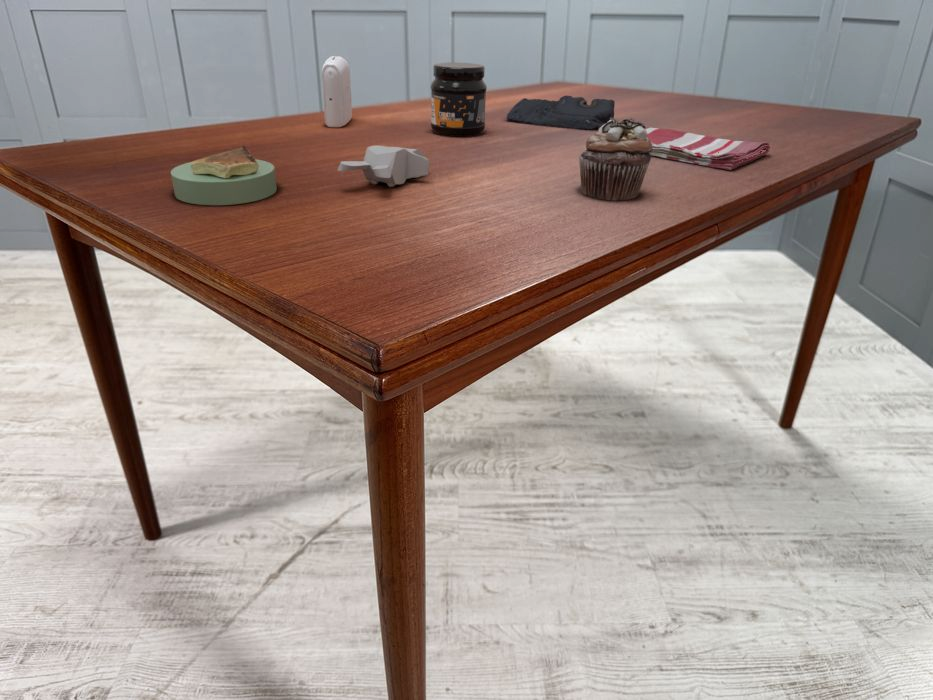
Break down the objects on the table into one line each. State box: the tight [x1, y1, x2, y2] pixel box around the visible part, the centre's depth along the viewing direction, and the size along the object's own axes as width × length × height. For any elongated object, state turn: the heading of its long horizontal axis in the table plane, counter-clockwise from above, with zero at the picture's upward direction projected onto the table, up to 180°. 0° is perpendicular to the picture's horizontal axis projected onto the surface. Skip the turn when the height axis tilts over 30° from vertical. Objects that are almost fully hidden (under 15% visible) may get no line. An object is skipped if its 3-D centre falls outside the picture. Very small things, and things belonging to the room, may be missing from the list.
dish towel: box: [645, 126, 771, 171], centre depth 118 cm, size 17×23×3 cm
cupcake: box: [578, 117, 652, 201], centre depth 91 cm, size 10×10×10 cm
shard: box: [190, 145, 259, 178], centre depth 88 cm, size 11×8×2 cm
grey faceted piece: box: [337, 144, 430, 188], centre depth 94 cm, size 10×5×15 cm
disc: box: [170, 158, 278, 206], centre depth 89 cm, size 13×13×3 cm
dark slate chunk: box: [506, 95, 616, 131], centre depth 142 cm, size 15×22×5 cm
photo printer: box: [321, 55, 353, 128], centre depth 131 cm, size 10×4×12 cm, turn 178°
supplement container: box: [430, 62, 488, 137], centre depth 126 cm, size 10×10×12 cm
